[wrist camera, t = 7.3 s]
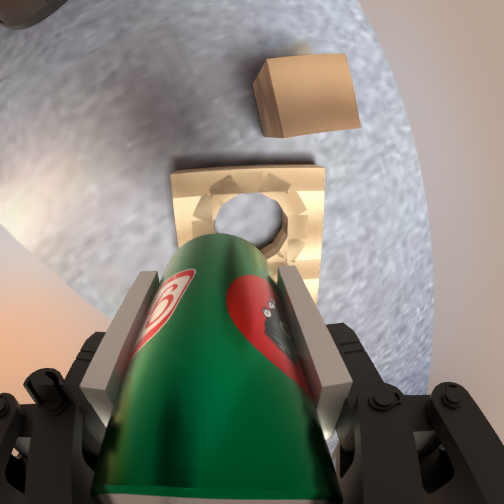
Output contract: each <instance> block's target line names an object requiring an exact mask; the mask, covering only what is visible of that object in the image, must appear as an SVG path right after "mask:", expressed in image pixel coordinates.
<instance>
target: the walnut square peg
mask: <svg viewBox="0 0 504 504" xmlns="http://www.w3.org/2000/svg"><path fill="white" fill-rule="evenodd" d="M253 90H254V94H255V99H256V103H257V108H258V112H259V117H260V121H261V126H262V131H263V135H264V137H275V138H287V137H293V136H300V135H306V134H313V133H321V132H328V131H336V130H345V129H355V128H361V126H360V120H359V114H358V109H357V103H356V98H355V93H354V88H353V84H352V79H351V75H350V70H349V66H348V62H347V58H346V54H314V55H299V56H288V57H278V58H270V59H266V61H265V63H264V64H263V66H262V68H261V70H260V72H259V73H258V75H257V77H256V79H255V81H254V83H253Z"/></svg>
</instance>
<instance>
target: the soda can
mask: <svg viewBox="0 0 504 504" xmlns="http://www.w3.org/2000/svg"><path fill="white" fill-rule="evenodd" d="M90 495H91V498H92V500H93V502H94V504H343V501H344V499H343V495H342V492H341V489H340V485H339V482H338V479H337V475H336V472H335V469H334V465H333V462H332V459H331V455H330V452H329V449H328V446H327V442H326V439H325V436H324V433H323V429H322V426H321V423H320V420H319V416H318V413H317V410H316V407H315V404H314V400H313V397H312V394H311V391H310V388H309V385H308V381H307V378H306V375H305V372H304V369H303V366H302V363H301V360H300V356H299V353H298V350H297V347H296V344H295V341H294V338H293V335H292V332H291V329H290V325H289V322H288V319H287V316H286V313H285V310H284V307H283V304H282V301H281V298H280V295H279V292H278V289H277V286H276V283H275V280H274V277H273V274H272V271H271V268H270V266H269V263H268V261H267V260H266V258H265V257H264V255H263V254H262V253H261V252H260V251H259V249H258V248H256V247H255V246H254V245H252V244H251V243H250V242H248V241H246V240H244V239H242V238H239V237H237V236H234V235H229V234H219V233H215V234H206V235H202V236H198V237H196V238H194V239H192V240H190V241H188V242H186V243H185V244H183V245H182V246H181V247H180V248H179V249H178V250H177V251H176V252H175V253H174V254H173V256H172V257H171V259H170V261H169V263H168V265H167V267H166V269H165V272H164V274H163V276H162V278H161V281H160V283H159V285H158V288H157V290H156V292H155V295H154V297H153V300H152V302H151V304H150V307H149V309H148V312H147V314H146V317H145V319H144V322H143V324H142V327H141V329H140V332H139V334H138V337H137V339H136V342H135V345H134V347H133V350H132V353H131V355H130V358H129V361H128V364H127V366H126V369H125V372H124V375H123V378H122V381H121V383H120V386H119V389H118V392H117V395H116V398H115V401H114V405H113V408H112V411H111V414H110V417H109V421H108V424H107V427H106V431H105V434H104V437H103V441H102V445H101V448H100V452H99V456H98V459H97V463H96V467H95V471H94V475H93V479H92V484H91V488H90Z"/></svg>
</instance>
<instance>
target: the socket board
mask: <svg viewBox="0 0 504 504" xmlns="http://www.w3.org/2000/svg"><path fill="white" fill-rule="evenodd" d="M170 176H171V187H172V197H173V206H174V215H175V224H176V232H177V239H178V247H179V248H180V247H181V246H182V245H183V244H185V243H186V242H188V241H190V240H192V239H194V238H196V237H198V236H202V235H206V234H215V233H217V232H216V231H215V220H214V219H215V217H216V215H217V213H218V211H219V209H220V207H221V205H222V204H224V203H225V202H227V201H228V200H230V199H231V198H233V197H235V196H236V195H238V194H239V193H262V194H264V195H266V196H268V197H270V198H272V199H274V200H276V201H277V202H278V204H279V206H280V207H281V209H282V228H281V230H280V231H279V233H278V235H277V236H276V238H275V240H274V241H273V242H272V243H270V244H269V245H267V246H266V247H264V248H262V249H261V250H259V251H260V252H261V253H262V254H263V255H264V257H265V258H266V260H267V261H268V263H269V266H270V268H271V271H272V274H273V277H274V280H275V282H277V273H278V266H293V265H296V267H297V269H298V271H299V273H300V275H301V277H302V279H303V281H304V283H305V285H306V287H307V289H308V291H309V293H310V295H311V297H312V299H313V301H314V303H315V305H316V303H317V294H318V283H319V272H320V260H321V246H322V230H323V211H324V185H325V168H324V167H321V166H318V165H316V164H275V165H244V166H225V167H210V168H197V169H185V170H176V171H175V172H173V173H172V174H170Z"/></svg>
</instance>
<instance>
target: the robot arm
mask: <svg viewBox="0 0 504 504" xmlns="http://www.w3.org/2000/svg"><path fill="white" fill-rule="evenodd" d="M65 1H66V0H0V24H1V25H2V26H5V27H8V28H11V29H15V30H20V29H25V28H28V27H30V26H32V25H34V24H36V23H38V22H40V21H41V20H43V19H45V18H46V17H47V16H49V15H50V14H51V13H53V12H54V11H55V10H56V9H58V8H59V7H60V6H61V5H62V4H63V3H64V2H65ZM158 285H159V278H158V272H157V271H141V272H140V274H139V275H138V277H137V279H136V280H135V282H134V284H133V285H132V287H131V289H130V290H129V292H128V294H127V296H126V297H125V299H124V301H123V303H122V304H121V306H120V308H119V310H118V311H117V313H116V315H115V317H114V319H113V320H112V322H111V324H110V326H109V328H108V330H107V332H95V333H94V334H93V335H91V336H90V337H89V338H88V339H87V340H86V341H85V343H84V345H83V346H82V348H81V350H80V351H81V352H79V353H78V355H77V357H76V360H75V361H74V363H73V364H72V366H71V368H70V370H69V372H68V374H67V376H66V378H65V379H63V377H62V375H61V374H60V372H59V371H57V370H55V369H52V368H43V369H39V370H37V371H35V372H33V373H32V374H31V375H30V376H29V377H27V379H26V380H25V382H24V384H23V386H24V387H25V389H26V390H27V392H28V393H29V395H30V396H31V397H32V399H33V400H34V402H35V403H36V404H23V405H22V404H21V405H20V404H19V403H18V401H17V400H16V399H15V397H14V396H13V395H11V394H9V393H1V394H0V504H94V502H93V500H92V498H91V495H90V488H91V484H92V479H93V475H94V471H95V467H96V463H97V459H98V456H99V452H100V448H101V445H102V441H103V437H104V434H105V431H106V427H107V424H108V421H109V417H110V414H111V411H112V408H113V405H114V401H115V398H116V395H117V392H118V389H119V386H120V383H121V381H122V378H123V375H124V372H125V369H126V366H127V364H128V361H129V358H130V355H131V353H132V350H133V347H134V345H135V342H136V339H137V337H138V334H139V332H140V329H141V327H142V324H143V322H144V319H145V317H146V314H147V312H148V309H149V307H150V304H151V302H152V300H153V297H154V295H155V292H156V290H157V288H158ZM277 289H278V292H279V295H280V298H281V301H282V304H283V307H284V310H285V313H286V316H287V319H288V322H289V325H290V329H291V332H292V335H293V338H294V341H295V344H296V347H297V350H298V353H299V356H300V360H301V363H302V366H303V369H304V372H305V375H306V378H307V381H308V385H309V388H310V391H311V394H312V397H313V400H314V404H315V407H316V410H317V413H318V416H319V420H320V423H321V426H322V429H323V433H324V436H325V439H330V438H332V436H333V434H334V431H335V429H336V432H337V435H338V438H339V442H338V444H337V446H336V448H335V450H334V452H333V454H332V458H331V459H332V460H335V458H336V475H337V479H338V482H339V485H340V489H341V492H342V495H343V499H344V501H343V504H504V445H503V444H502V442H501V441H500V439H499V437H498V436H497V434H496V433H495V431H494V430H493V428H492V426H491V425H490V423H489V422H488V420H487V419H486V417H485V416H484V414H483V413H482V411H481V410H480V408H479V407H478V406H477V404H476V403H475V401H474V400H473V398H472V397H471V396H470V394H469V393H468V391H466V389H464V387H462V386H461V385H459V384H456V383H453V382H444V383H440V384H439V385H437V386H436V387H435V389H434V390H433V392H432V393H431V395H403V393H402V392H401V391H400V390H399V389H398V388H396V387H395V386H393V385H390V384H388V383H384V382H383V380H382V378H381V377H380V375H379V373H378V371H377V370H376V368H375V366H374V364H373V363H372V361H371V359H370V357H369V356H368V354H367V352H366V351H365V350H364V347H363V346H362V344H361V343H360V340H359V339H358V337H357V335H356V334H355V332H354V331H353V330H352V329H351V328H349V327H348V326H347V325H345V324H344V323H337V324H328V325H325V323H324V321H323V319H322V317H321V315H320V313H319V311H318V309H317V307H316V305H315V303H314V301H313V299H312V297H311V295H310V293H309V291H308V289H307V287H306V285H305V283H304V281H303V279H302V277H301V275H300V273H299V271H298V269H297V267H296V265H293V266H278V273H277ZM13 448H15V449H16V450H17V451H18V452H19V454H18V455H17V456H15V457H14V456H13V455H12V454H11V453H12V450H13Z"/></svg>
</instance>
